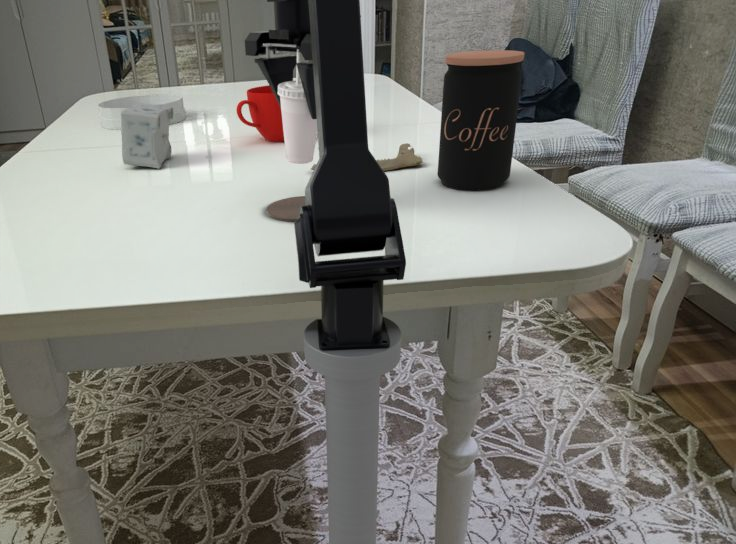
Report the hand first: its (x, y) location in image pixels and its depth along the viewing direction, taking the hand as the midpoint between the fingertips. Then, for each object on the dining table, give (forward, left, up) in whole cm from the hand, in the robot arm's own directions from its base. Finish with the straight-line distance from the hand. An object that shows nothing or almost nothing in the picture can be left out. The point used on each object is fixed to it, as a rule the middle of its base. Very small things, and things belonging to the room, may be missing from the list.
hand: (301, 115), depth 85 cm
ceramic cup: (+50, +6, -13) cm, 52 cm away
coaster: (0, 0, -13) cm, 13 cm away
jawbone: (+25, -11, -13) cm, 30 cm away
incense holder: (+35, +29, -13) cm, 47 cm away
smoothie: (0, +1, -6) cm, 6 cm away
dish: (+84, +41, -13) cm, 94 cm away
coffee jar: (+10, -26, -13) cm, 31 cm away
